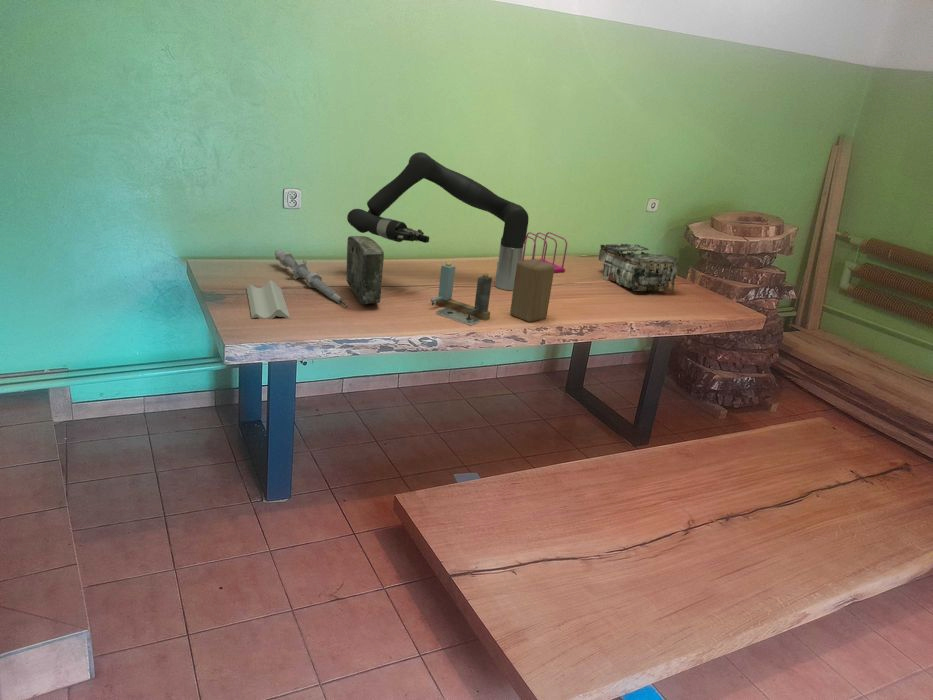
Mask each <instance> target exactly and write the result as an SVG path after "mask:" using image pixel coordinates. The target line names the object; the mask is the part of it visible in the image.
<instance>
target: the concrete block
mask: <svg viewBox="0 0 933 700" xmlns="http://www.w3.org/2000/svg"><path fill="white" fill-rule="evenodd" d="M384 254H385V252H384V250H383V249H382V247H381V246H380V245H379V244H378V243H377V242H376V241H375V240H373V239H372V238H371V237H368V236H364V235H352V236H351V235H350V236H348V237H347V246H346V282H347V285H348V287H350V289H351V291H352V292H353V293H354V295H355V297H356V298H357V300H358V302H359V303H360V304H362V305H369V304H378V303H380V302H381V298H382V297H381V295H382V282H383V271H384V262H385V261H384V260H385V255H384Z"/></svg>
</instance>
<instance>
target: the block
mask: <svg viewBox="0 0 933 700" xmlns="http://www.w3.org/2000/svg"><path fill="white" fill-rule="evenodd" d="M536 259H537V258H534V259H533V260H532V259H525V260H526V261H519V262H518V263H517V267H516V274H515V281H514V288H513V290H512V297H511V304H510V311H509V312H510V315H511V316H513V317H516V318H518V319H521V320H523V321H525V322H528V323H533V322H537V321H540V320H545V319H546V318H547V317H548V310H549V306H550V305H549V304H550V298H551V293H552V292H551V291H552V286H553V280H554V274H555V273H554V266H553V265H551V264H548V263H545V262H542V261H539V260H536Z"/></svg>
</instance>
